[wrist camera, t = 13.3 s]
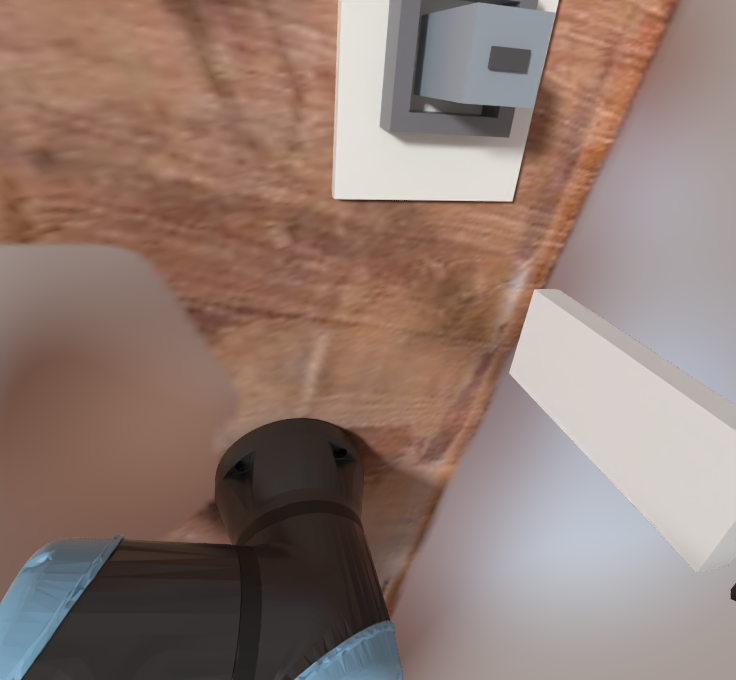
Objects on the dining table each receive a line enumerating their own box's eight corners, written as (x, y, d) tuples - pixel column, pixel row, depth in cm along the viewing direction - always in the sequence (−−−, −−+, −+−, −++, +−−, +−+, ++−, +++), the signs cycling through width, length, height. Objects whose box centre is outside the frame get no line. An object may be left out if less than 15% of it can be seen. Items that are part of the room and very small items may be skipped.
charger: (472, 98, 33) (536, 108, 26) (413, 94, 32) (464, 103, 25) (484, 23, 30) (558, 12, 24) (421, 15, 29) (480, 1, 22)
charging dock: (506, 198, 39) (528, 209, 36) (331, 195, 35) (341, 208, 32) (560, -45, 30) (595, -56, 28) (341, -84, 27) (354, -101, 24)
